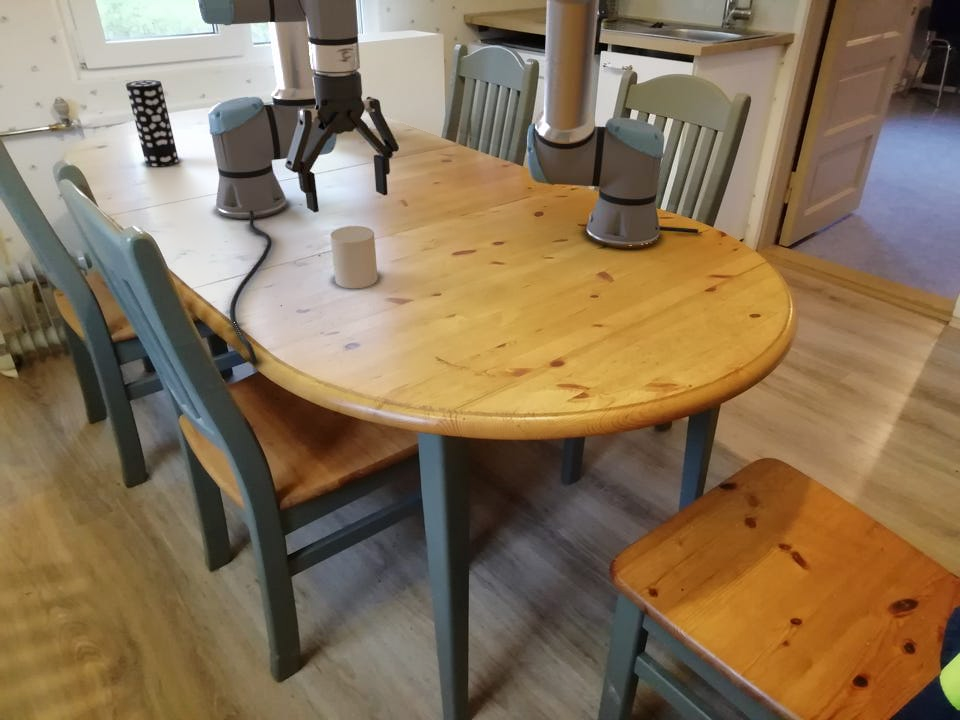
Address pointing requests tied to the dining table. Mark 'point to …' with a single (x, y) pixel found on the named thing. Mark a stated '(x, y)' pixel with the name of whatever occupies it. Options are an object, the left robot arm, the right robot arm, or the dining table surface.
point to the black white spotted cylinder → (152, 122)
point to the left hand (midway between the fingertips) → (348, 201)
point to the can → (354, 256)
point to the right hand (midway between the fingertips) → (576, 49)
